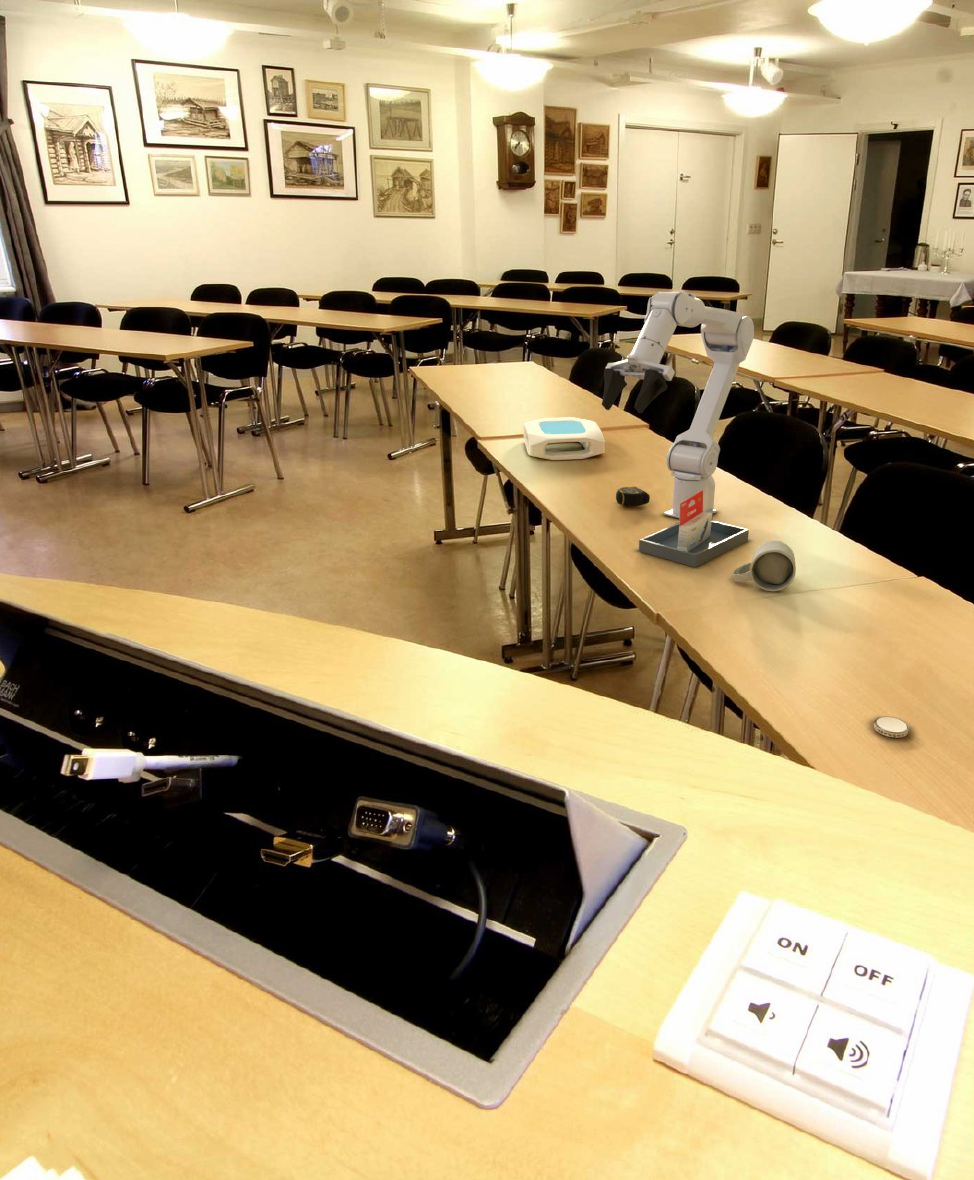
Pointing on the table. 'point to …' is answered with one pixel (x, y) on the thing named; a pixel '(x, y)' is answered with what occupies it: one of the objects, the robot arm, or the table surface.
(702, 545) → the tray
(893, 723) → the bottle cap
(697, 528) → the ink cartridge box
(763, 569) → the ceramic mug
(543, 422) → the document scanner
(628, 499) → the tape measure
